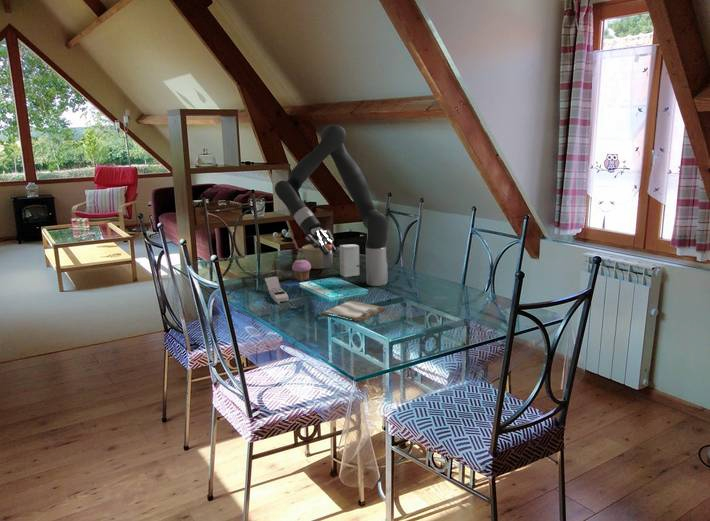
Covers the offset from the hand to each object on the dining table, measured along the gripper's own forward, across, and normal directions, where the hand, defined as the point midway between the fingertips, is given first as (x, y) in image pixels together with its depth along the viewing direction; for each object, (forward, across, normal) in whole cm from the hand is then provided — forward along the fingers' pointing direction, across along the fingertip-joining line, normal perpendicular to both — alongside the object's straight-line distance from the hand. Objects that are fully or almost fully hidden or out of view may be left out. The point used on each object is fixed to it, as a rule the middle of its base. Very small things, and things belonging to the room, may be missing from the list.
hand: (331, 252), depth 238 cm
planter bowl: (-17, +45, +48) cm, 68 cm away
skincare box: (0, +40, +31) cm, 51 cm away
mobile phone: (-4, -4, +35) cm, 36 cm away
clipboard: (+25, -4, +5) cm, 26 cm away
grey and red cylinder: (+3, 0, +6) cm, 6 cm away
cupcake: (-10, +21, +41) cm, 47 cm away
